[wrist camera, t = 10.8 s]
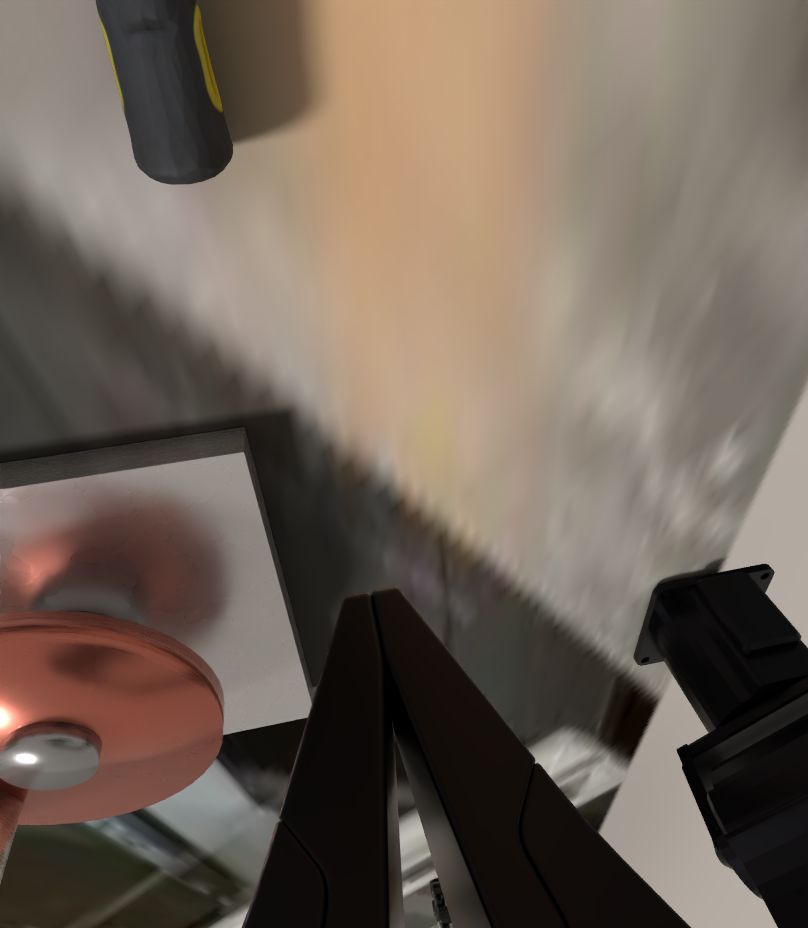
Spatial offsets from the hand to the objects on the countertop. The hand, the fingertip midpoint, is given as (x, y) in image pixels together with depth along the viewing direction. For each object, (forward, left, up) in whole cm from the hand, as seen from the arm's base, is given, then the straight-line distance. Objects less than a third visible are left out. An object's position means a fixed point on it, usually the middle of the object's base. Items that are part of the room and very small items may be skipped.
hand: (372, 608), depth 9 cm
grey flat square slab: (-12, +11, -12) cm, 20 cm away
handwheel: (-12, +11, -8) cm, 18 cm away
